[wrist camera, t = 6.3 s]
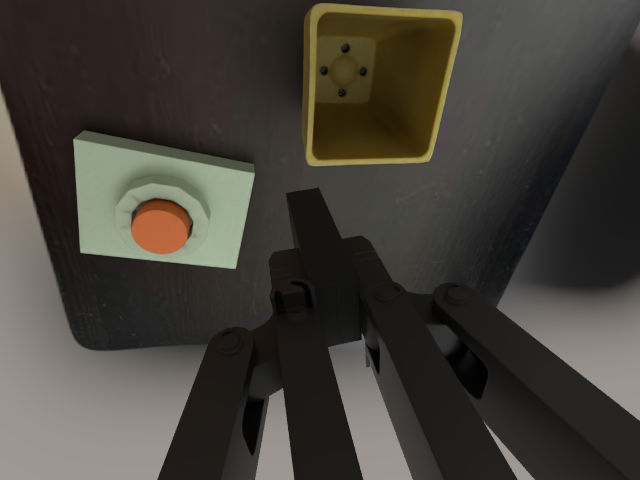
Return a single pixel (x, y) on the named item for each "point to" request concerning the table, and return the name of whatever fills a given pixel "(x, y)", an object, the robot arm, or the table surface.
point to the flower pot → (375, 82)
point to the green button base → (159, 198)
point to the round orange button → (160, 227)
